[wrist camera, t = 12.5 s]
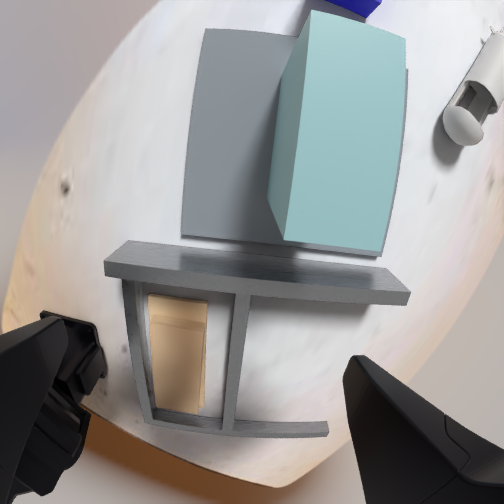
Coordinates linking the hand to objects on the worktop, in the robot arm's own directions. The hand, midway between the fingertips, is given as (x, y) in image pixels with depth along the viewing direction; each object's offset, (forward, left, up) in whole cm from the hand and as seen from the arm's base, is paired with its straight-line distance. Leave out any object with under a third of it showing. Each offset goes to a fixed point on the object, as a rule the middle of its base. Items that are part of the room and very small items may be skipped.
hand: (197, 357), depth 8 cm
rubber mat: (+4, +7, -12) cm, 14 cm away
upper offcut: (-3, -12, -12) cm, 17 cm away
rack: (+2, -11, -12) cm, 16 cm away
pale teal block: (+4, +7, -12) cm, 14 cm away
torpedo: (+20, +17, -12) cm, 29 cm away
